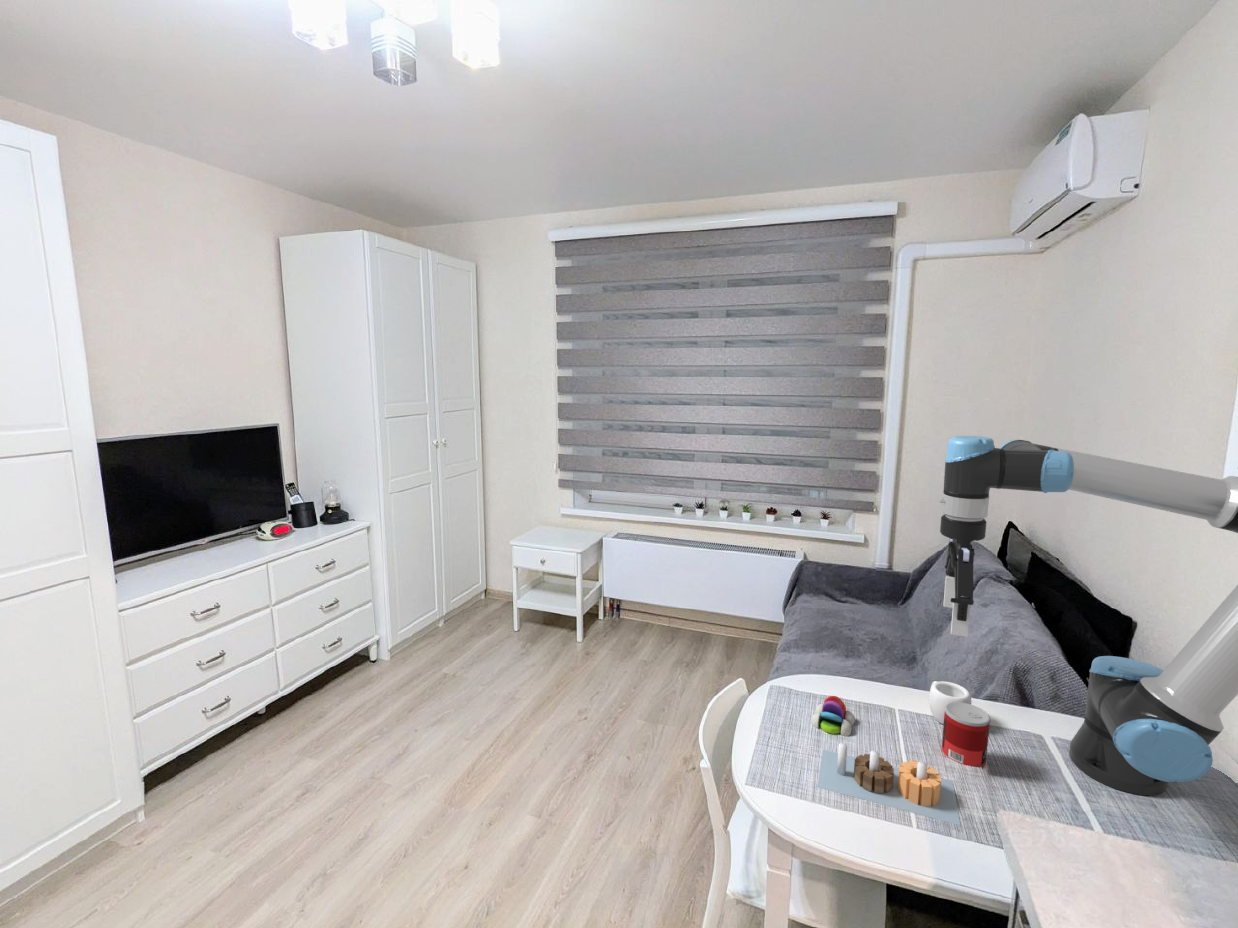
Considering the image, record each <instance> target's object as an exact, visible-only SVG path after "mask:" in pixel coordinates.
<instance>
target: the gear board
mask: <svg viewBox="0 0 1238 928" xmlns="http://www.w3.org/2000/svg"><path fill="white" fill-rule="evenodd" d="M837 747H838V748H837V749H838V750H837V752H836V751H832V750H826V749H822V752H821V753H822V754H821V760H820V767H819V776H818V781H817V788H819V789H823V790H827V791H831V792H834V793H839V794H841V795H845V796H850V797H853V798H856V799H859V800H864V801H868V802H871V803H875V804H878V805H881V806H882V805H883V806H885V807H886V806H887V807H889V808H893V809H898V810H899V811H900V810H901V811H904V812H909V813H911V814H916V815H919V816H924V817H927V818H929V819H934V820H937V821H941V822H944V823H948V824H949V823H950V824H953V825H957V826H961V825H962V824H961V820H960V815H959V809H958V804H957V798H956V793H955V792H956V791H955V788H954V787H955V785H954V782H953V780H950V779H946V778H941V791H940V801H939V803H938V804H936V805H934V806H933V805H931V807H928V806H921V804H920V802H919V803H918V805H916V804H914V803H912V802H910V801H908V798H906V799H905V798H904V797H903V796H902V795H901V794H900V793H899V790H898V775H899V767H897V766H894V765H892V768H894V779H893V788H892V790H890V791H888V792H887V793H886V792H885V791H884V793H875V792H874V790H873V789H872V791H869V790H866V789H864V788H863V785H859V784H858V783H857V782H856V781H855V778H854V763H855V759H856V757H857V756H856V757H855V756H852V755H847V754H848V745H847V744H846V743H844V742H840V743H838V746H837ZM869 754H870V765H869V770H871V771H874V772H878V766H879V757H880V753H879V751H877V750H871V751H870V752H869ZM917 763H918V764H917V777H916V778H918V779H920V780H926V773H927V765H928V763H925V762H923V761H917Z"/></svg>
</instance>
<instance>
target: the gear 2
mask: <svg viewBox="0 0 1238 928" xmlns="http://www.w3.org/2000/svg"><path fill="white" fill-rule="evenodd" d="M917 764H918V761H916V760H915V761H914V760H913V761H912V760H908V761H903V762H902V763H900V764H899V766H898V768H899V775H898V790H899V793H900V794H901V795H902V796H903V797H904V798H905V799H906V798H908V801H910V802H912V803H914V804H916V805H918V803H919V802H920V804H921V806H928V807H931V805H933V806H934V805H936V804H938V803H939V801H940V791H941V777H942V776H940V773H939V772H938V771H936V770H935V768H933V767H931V768H930V765H928V764H927V773H926V780H920V779H918V778H916V777H917Z"/></svg>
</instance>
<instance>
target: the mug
mask: <svg viewBox="0 0 1238 928" xmlns="http://www.w3.org/2000/svg"><path fill="white" fill-rule="evenodd" d="M952 702H962V703H967V704H971V705H972V696H971V694H970V692H969V690H968V689H966V688H965V687H964V686H962V685H959V684H958V683H955V682H951V681H945V680H944V681H942V680H941V681H937V680H935V681H932V683H931V685H930V689H929V695H928V704H929V709H930V712H931V715H932V717H933V718H934V719H935V721H937V722H938V723H940V724H941V725H944V714H945V707H946V705H947V704H948V703H952Z"/></svg>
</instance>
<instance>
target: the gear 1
mask: <svg viewBox="0 0 1238 928" xmlns="http://www.w3.org/2000/svg"><path fill="white" fill-rule="evenodd" d="M869 765H870V753H864V754H860V755H859V754H858V755H857V756H856V759H855V763H854V778H855V781H856V782H857V783H858V784H859V785H863V788H864V789H866V790H869V791H872V789H873V790H874V792H875V793H884V791H885V792H886V793H887V792H888V791H890V790H892V788H893V779H894V768H892V766H893V765H892V764H891V763H890V762H889V761H888V760H885V758H883V757H881V756H879V766H878V772H874V771H871V770H869Z"/></svg>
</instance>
